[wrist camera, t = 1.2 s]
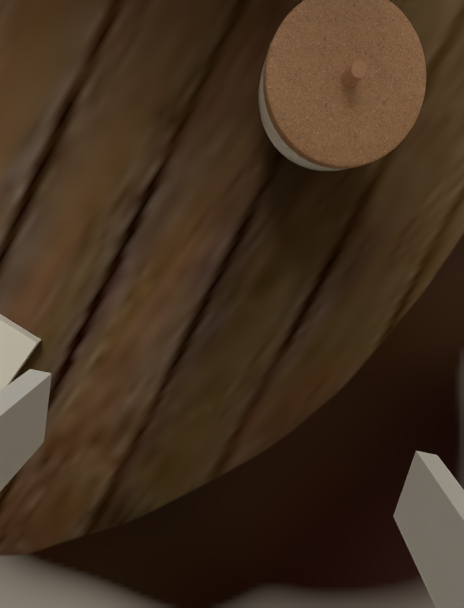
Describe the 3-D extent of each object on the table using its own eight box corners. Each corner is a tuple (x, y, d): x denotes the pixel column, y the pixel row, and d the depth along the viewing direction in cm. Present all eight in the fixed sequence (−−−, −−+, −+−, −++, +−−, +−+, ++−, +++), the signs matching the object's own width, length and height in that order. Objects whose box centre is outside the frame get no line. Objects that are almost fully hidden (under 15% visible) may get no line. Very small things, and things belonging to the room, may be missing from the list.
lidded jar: (315, 208, 35) (363, 199, 26) (218, 119, 33) (233, 75, 24) (399, 108, 35) (477, 63, 26) (306, 10, 33) (355, -77, 23)
